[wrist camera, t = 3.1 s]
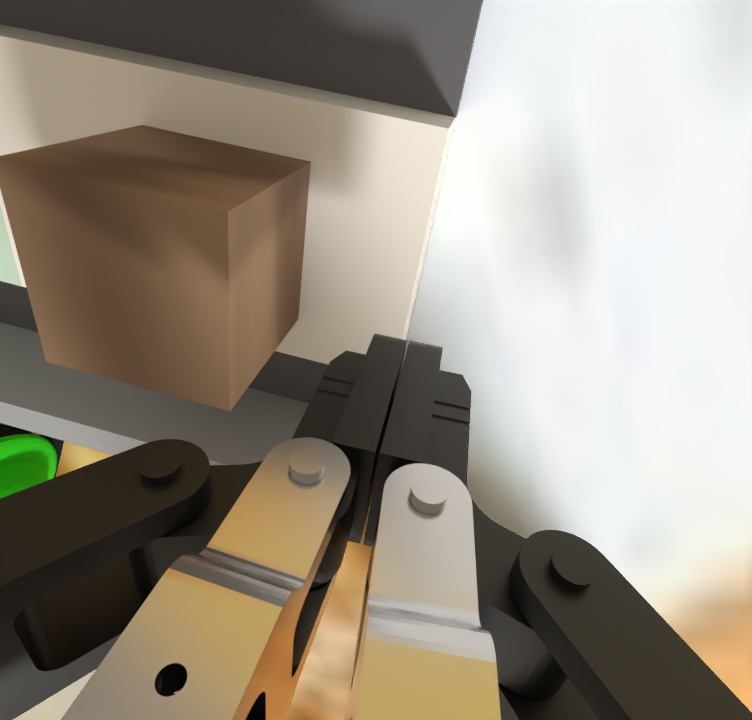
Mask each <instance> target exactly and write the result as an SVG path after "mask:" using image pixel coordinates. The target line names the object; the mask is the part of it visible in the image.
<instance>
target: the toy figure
mask: <svg viewBox="0 0 752 720" xmlns="http://www.w3.org/2000/svg"><path fill="white" fill-rule="evenodd" d="M63 442H64V441H63V440H59V439H56V438H52V437H49V436H45V435H41V434H38V433H34V432H31V431H27V430H24V429H20V428H17V427H13V426H10V425H6V424H3V423H0V498H3V497H6V496H8V495H11V494H13V493H16V492H19V491H21V490H24V489H27V488H29V487H32V486H34V485H37V484H40V483H42V482H45V481H48V480H50V479H53V478H55V476H56V472H57V468H58V464H59V459H60V455H61V451H62V447H63Z"/></svg>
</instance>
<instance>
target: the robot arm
mask: <svg viewBox="0 0 752 720" xmlns="http://www.w3.org/2000/svg"><path fill="white" fill-rule="evenodd" d="M406 345H407V340H404V339H399V338H395V337H390V336H385V335H380V334H374V335H373V338H372V340H371V343H370V345H369V348H368V350H367V353H366V355H365V354H360V353H356V352H351V351H345V352H343V353H342V354H340V355H339V356H337V357H336V358H334V359H333V360H332V361H330V363H329V365H328V367H327V369H326V371H325V373H324V375H323V378H322V379H321V381H320V383H319V385H318V387H317V390H316V392H315V393H314V395H313V397H312V399H311V401H310V403H309V405H308V407H307V409H306V411H305V413H304V415H303V417H302V419H301V421H300V423H299V425H298V427H297V429H296V431H295V433H294V435H293V437H292V439H291V440H288V441H285V442H283V443H281V444H279V445H277V446H276V447H274V448H273V449H272V450H271V451H270V452H269V453H268V454H267V456H266V457H265V459H264V460H263V461H260V462H256V463H251V464H240V465H210V463H209V459H208V457H207V455H206V453H205V452H204V451H203V450H202V449H201V448H200V447H198V446H197V445H195V444H193V443H191V442H188V441H184V440H178V439H163V440H156V441H151V442H148V443H145V444H142V445H140V446H137V447H134V448H132V449H129V450H127V451H124V452H121V453H119V454H116V455H113V456H111V457H108V458H105V459H103V460H100V461H98V462H95V463H92V464H90V465H87V466H84V467H82V468H79V469H77V470H74V471H71V472H69V473H66V474H63V475H61V476H58V477H56V478H53V479H50V480H48V481H45V482H42V483H40V484H37V485H34V486H32V487H29V488H27V489H24V490H21V491H19V492H16V493H13V494H11V495H8V496H6V497H3V498H0V720H13V719H14V718H16V717H18V716H19V715H21V714H23V713H24V712H26V711H28V710H29V709H31V708H32V707H34V706H35V705H37V704H39V703H41V702H42V701H44V700H46V699H47V698H49V697H50V696H52V695H54V694H56V693H57V692H59V691H60V690H62V689H64V688H65V687H67V686H69V685H70V684H72V683H73V682H75V681H77V680H78V679H80V678H82V677H83V676H85V675H87V674H88V673H90V672H92V671H93V670H95V669H96V671H95V672H94V674H93V675H92V677H91V678H90V679H89V681H88V682H87V684H86V685H85V686H84V688H83V689H82V691H81V692H80V694H79V695H78V696H77V698H76V699H75V700H74V702H73V703H72V705H71V706H70V708H69V709H68V710H67V712H66V713H65V715H64V716H63V717H62V719H61V720H287V717H288V714H289V710H290V705H291V701H292V698H293V694H294V691H295V688H296V685H297V682H298V679H299V676H300V674H301V671H302V668H303V666H304V663H305V660H306V658H307V655H308V652H309V650H310V647H311V644H312V642H313V639H314V636H315V634H316V631H317V628H318V626H319V623H320V620H321V618H322V615H323V612H324V610H325V607H326V604H327V602H328V599H329V596H330V594H331V591H332V588H333V586H334V583H335V580H336V576H337V571H338V570H339V568H340V566H341V563H342V560H343V556H344V553H345V549H346V546H347V542H348V541H352V542H356V543H360V541H361V537H362V534H363V530H364V526H365V522H366V518H367V514H368V510H369V507H370V511H369V516H368V522H367V528H366V533H365V539H364V544H365V545H369V546H372V551H371V556H370V562H369V567H368V572H367V577H366V582H365V587H364V594H363V600H362V607H361V614H360V621H359V628H358V635H357V641H356V648H355V655H354V662H353V669H352V675H351V682H350V689H349V696H348V702H347V709H346V715H345V720H752V713H751V712H750V711H749V709H748V708H747V707H746V706H745V705H744V704H743V703H742V702H741V701H740V700H739V699H738V698H737V697H736V696H735V695H734V693H733V692H732V691H731V690H730V689H729V688H728V687H727V686H726V685H725V684H724V683H723V682H722V681H721V680H720V679H719V678H718V676H717V675H716V674H715V673H714V672H713V671H712V670H711V669H710V668H709V667H708V666H707V665H706V664H705V663H704V662H703V661H702V659H701V658H700V657H699V656H698V655H697V654H696V653H695V652H694V651H693V650H692V649H691V648H690V647H689V646H688V645H687V644H686V642H685V641H684V640H683V639H682V638H681V637H680V636H679V635H678V634H677V633H676V632H675V631H674V630H673V629H672V628H671V627H670V625H669V624H668V623H667V622H666V621H665V620H664V619H663V618H662V617H661V616H660V615H659V614H658V613H657V612H656V611H655V610H654V608H653V607H652V606H651V605H650V604H649V603H648V602H647V601H646V600H645V599H644V598H643V597H642V596H641V595H640V594H639V593H638V591H637V590H636V589H635V588H634V587H633V586H632V585H631V584H630V583H629V582H628V581H627V580H626V579H625V578H624V577H623V576H622V574H621V573H620V572H619V571H618V570H617V569H616V568H615V567H614V566H613V565H612V564H611V563H610V562H609V561H608V560H607V559H606V557H605V556H604V555H603V554H602V553H600V552H599V551H598V550H597V549H596V548H595V547H594V546H592V545H591V544H590V543H588V542H586V541H585V540H583V539H581V538H579V537H577V536H575V535H573V534H570V533H567V532H563V531H558V530H544V531H540V532H536V533H534V534H532V535H531V536H529V537H528V538H527V539H525V538H523V537H521V536H519V535H517V534H515V533H513V532H511V531H509V530H508V529H506V528H504V527H502V526H500V525H499V524H497V523H495V522H494V521H492V520H491V519H490V518H488V517H487V516H486V515H485V514H484V513H483V512H482V511H481V510H480V509H479V508H478V507H477V506H476V504H475V503H474V501H473V500H472V498H471V496H470V493H469V491H468V487H467V464H468V445H469V423H470V406H471V390H470V388H469V386H468V385H467V383H466V381H465V379H464V377H463V375H460V374H455V373H451V372H446V371H441V370H439V368H440V361H441V355H442V347H439V346H434V345H429V344H424V343H419V342H414V341H410V342H409V345H408V349H407V353H406V356H405V351H406ZM404 356H405V360H404ZM403 361H404V364H403ZM402 367H403V368H402ZM370 503H371V505H370Z"/></svg>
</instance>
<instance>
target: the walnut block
mask: <svg viewBox="0 0 752 720" xmlns="http://www.w3.org/2000/svg"><path fill="white" fill-rule="evenodd" d="M310 165H311V162H310V161H305V160H301V159H296V158H292V157H287V156H282V155H278V154H273V153H269V152H264V151H260V150H255V149H250V148H246V147H241V146H237V145H232V144H227V143H223V142H218V141H214V140H209V139H205V138H200V137H195V136H191V135H186V134H182V133H177V132H173V131H168V130H163V129H159V128H154V127H150V126H145V125H139V126H134V127H130V128H125V129H121V130H116V131H112V132H107V133H102V134H98V135H93V136H89V137H84V138H80V139H75V140H70V141H66V142H61V143H57V144H52V145H48V146H43V147H38V148H34V149H29V150H25V151H20V152H16V153H11V154H6V155H2V156H0V189H1V193H2V197H3V201H4V204H5V208H6V212H7V216H8V219H9V223H10V227H11V231H12V235H13V238H14V242H15V246H16V250H17V253H18V257H19V261H20V265H21V268H22V272H23V276H24V280H25V284H26V287H27V291H28V295H29V299H30V302H31V306H32V310H33V314H34V317H35V321H36V325H37V329H38V333H39V336H40V340H41V344H42V348H43V351H44V355H45V359H46V362H49V363H52V364H56V365H60V366H63V367H67V368H71V369H75V370H78V371H82V372H86V373H90V374H93V375H97V376H101V377H104V378H108V379H112V380H116V381H119V382H123V383H127V384H131V385H134V386H138V387H142V388H145V389H149V390H153V391H157V392H160V393H164V394H168V395H172V396H175V397H179V398H183V399H186V400H190V401H194V402H198V403H201V404H205V405H209V406H213V407H216V408H220V409H224V410H227V411H231V410H232V408H233V407H234V405H235V404H236V403H237V401H238V400H239V399H240V397H241V396H242V395H243V393H244V392H245V391H246V389H247V388H248V387H249V385H250V384H251V382H252V381H253V380H254V378H255V377H256V376H257V374H258V373H259V372H260V370H261V369H262V368H263V366H264V365H265V363H266V362H267V361H268V359H269V358H270V357H271V355H272V354H273V353H274V351H275V350H276V349H277V347H278V346H279V345H280V343H281V342H282V340H283V339H284V338H285V336H286V335H287V334H288V332H289V331H290V330H291V328H292V327H293V326H294V324H295V323H296V321H297V320H298V317H299V304H300V292H301V279H302V266H303V254H304V241H305V228H306V216H307V203H308V190H309V178H310Z"/></svg>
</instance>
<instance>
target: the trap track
mask: <svg viewBox="0 0 752 720" xmlns="http://www.w3.org/2000/svg"><path fill="white" fill-rule="evenodd" d="M482 3H483V0H0V156H2V155H6V154H11V153H16V152H20V151H25V150H29V149H34V148H38V147H43V146H48V145H52V144H57V143H61V142H66V141H70V140H75V139H80V138H84V137H89V136H93V135H98V134H102V133H107V132H112V131H116V130H121V129H125V128H130V127H134V126H139V125H145V126H150V127H154V128H159V129H163V130H168V131H173V132H177V133H182V134H186V135H191V136H195V137H200V138H205V139H209V140H214V141H218V142H223V143H227V144H232V145H237V146H241V147H246V148H250V149H255V150H260V151H264V152H269V153H273V154H278V155H282V156H287V157H292V158H296V159H301V160H305V161H310V162H311V165H310V178H309V190H308V203H307V216H306V228H305V241H304V254H303V266H302V279H301V292H300V304H299V317H298V320H297V321H296V323H295V324H294V326H293V327H292V328H291V330H290V331H289V332H288V334H287V335H286V336H285V338H284V339H283V340H282V342H281V343H280V345H279V346H278V347H277V349H276V350H275V351H274V353H273V354H272V355H271V357H270V358H269V359H268V361H267V362H266V363H265V365H264V366H263V368H262V369H261V370H260V372H259V373H258V374H257V376H256V377H255V378H254V380H253V381H252V382H251V384H250V385H249V387H248V388H247V389H246V391H245V392H244V393H243V395H242V396H241V397H240V399H239V400H238V401H237V403H236V404H235V405H234V407H233V408H232V410H231V411H227V410H224V409H220V408H216V407H213V406H209V405H205V404H201V403H198V402H194V401H190V400H186V399H183V398H179V397H175V396H172V395H168V394H164V393H160V392H157V391H153V390H149V389H145V388H142V387H138V386H134V385H131V384H127V383H123V382H119V381H116V380H112V379H108V378H104V377H101V376H97V375H93V374H90V373H86V372H82V371H78V370H75V369H71V368H67V367H63V366H60V365H56V364H52V363H49V362H46V359H45V355H44V351H43V348H42V344H41V340H40V336H39V333H38V329H37V325H36V321H35V317H34V314H33V310H32V306H31V302H30V299H29V295H28V291H27V287H26V284H25V280H24V276H23V272H22V268H21V265H20V261H19V257H18V253H17V250H16V246H15V242H14V238H13V235H12V231H11V227H10V223H9V219H8V216H7V212H6V208H5V204H4V201H3V197H2V193H1V189H0V423H3V424H6V425H10V426H13V427H17V428H20V429H24V430H27V431H31V432H34V433H38V434H41V435H45V436H49V437H52V438H56V439H59V440H63V441H66V442H70V443H73V444H77V445H80V446H84V447H87V448H91V449H95V450H98V451H102V452H105V453H109V454H112V455H116V454H119V453H121V452H124V451H127V450H129V449H132V448H134V447H137V446H140V445H142V444H145V443H148V442H151V441H156V440H163V439H178V440H184V441H188V442H191V443H193V444H195V445H197V446H198V447H200V448H201V449H202V450H203V451H204V452H205V453H206V455H207V457H208V459H209V463H210V465H240V464H251V463H256V462H260V461H263V460H264V459H265V457H266V456H267V454H268V453H269V452H270V451H271V450H272V449H273V448H274V447H276V446H277V445H279V444H281V443H283V442H285V441H288V440H291V439H292V437H293V435H294V433H295V431H296V429H297V427H298V425H299V423H300V421H301V419H302V417H303V415H304V413H305V411H306V409H307V407H308V405H309V403H310V401H311V399H312V397H313V395H314V393H315V392H316V390H317V387H318V385H319V383H320V381H321V379H322V378H323V375H324V373H325V371H326V369H327V367H328V365H329V363H330V361H332V360H333V359H334V358H336V357H337V356H339V355H340V354H342V353H343V352H345V351H351V352H356V353H360V354H365V355H366V353H367V350H368V348H369V345H370V343H371V340H372V338H373V335H374V334H380V335H385V336H390V337H395V338H399V339H404V340H406V339H407V335H408V330H409V326H410V321H411V317H412V312H413V308H414V304H415V299H416V295H417V290H418V286H419V281H420V277H421V273H422V268H423V264H424V259H425V255H426V251H427V246H428V242H429V237H430V233H431V228H432V224H433V220H434V215H435V211H436V206H437V202H438V197H439V193H440V189H441V184H442V180H443V175H444V171H445V167H446V162H447V158H448V153H449V149H450V144H451V140H452V136H453V131H454V127H455V122H456V118H457V113H458V109H459V105H460V100H461V96H462V91H463V87H464V83H465V78H466V74H467V69H468V65H469V60H470V56H471V52H472V47H473V43H474V38H475V34H476V29H477V25H478V21H479V16H480V12H481V7H482Z"/></svg>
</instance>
